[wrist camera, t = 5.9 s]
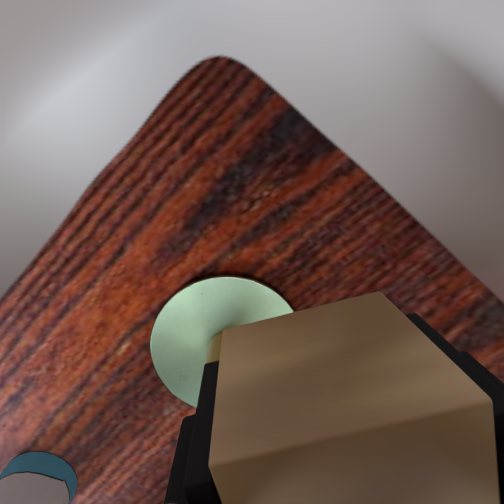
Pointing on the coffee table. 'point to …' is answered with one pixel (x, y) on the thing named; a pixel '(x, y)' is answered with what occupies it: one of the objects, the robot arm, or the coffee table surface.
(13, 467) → the white printed cylinder
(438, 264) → the coffee table surface
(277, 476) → the block
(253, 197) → the coffee table surface
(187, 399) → the lid
